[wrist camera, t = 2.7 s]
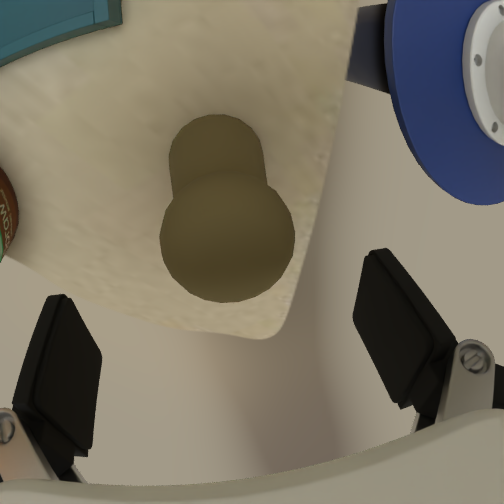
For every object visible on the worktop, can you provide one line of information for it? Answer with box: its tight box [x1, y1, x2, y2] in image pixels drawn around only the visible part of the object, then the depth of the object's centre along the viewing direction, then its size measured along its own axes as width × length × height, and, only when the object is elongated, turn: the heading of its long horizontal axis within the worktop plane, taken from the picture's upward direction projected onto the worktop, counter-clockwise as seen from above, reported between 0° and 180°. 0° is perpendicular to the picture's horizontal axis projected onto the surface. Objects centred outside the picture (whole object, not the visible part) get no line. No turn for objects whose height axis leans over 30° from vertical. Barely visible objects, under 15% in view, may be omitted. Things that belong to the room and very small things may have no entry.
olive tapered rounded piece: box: [159, 115, 295, 303], centre depth 16 cm, size 6×6×11 cm
